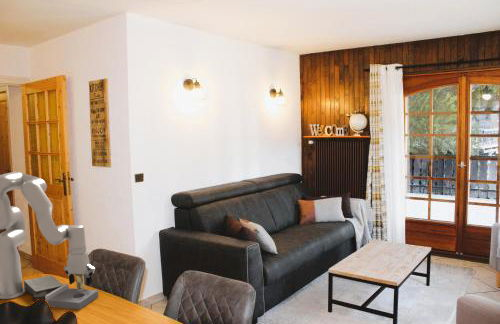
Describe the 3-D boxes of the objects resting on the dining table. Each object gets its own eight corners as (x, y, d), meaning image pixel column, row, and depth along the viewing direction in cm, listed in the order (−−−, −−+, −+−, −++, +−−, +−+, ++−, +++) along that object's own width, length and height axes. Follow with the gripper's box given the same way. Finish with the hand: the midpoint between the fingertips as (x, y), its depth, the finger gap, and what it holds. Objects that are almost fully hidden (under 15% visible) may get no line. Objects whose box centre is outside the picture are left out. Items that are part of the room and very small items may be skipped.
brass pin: (75, 292, 211) (74, 274, 210) (80, 289, 214) (78, 271, 213) (81, 292, 210) (80, 274, 209) (86, 289, 213) (84, 272, 212)
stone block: (35, 301, 201) (35, 291, 200) (23, 290, 215) (23, 280, 214) (65, 293, 210) (65, 283, 209) (52, 283, 224) (51, 273, 224)
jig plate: (46, 306, 195) (45, 295, 195) (66, 293, 209) (65, 284, 208) (80, 309, 191) (79, 298, 190) (98, 296, 204) (97, 286, 204)
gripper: (57, 252, 208) (60, 285, 210) (88, 253, 204) (91, 287, 206) (67, 247, 216) (70, 280, 217) (97, 248, 211) (100, 281, 213)
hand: (80, 283), depth 212 cm, fingers open, 9 cm apart
